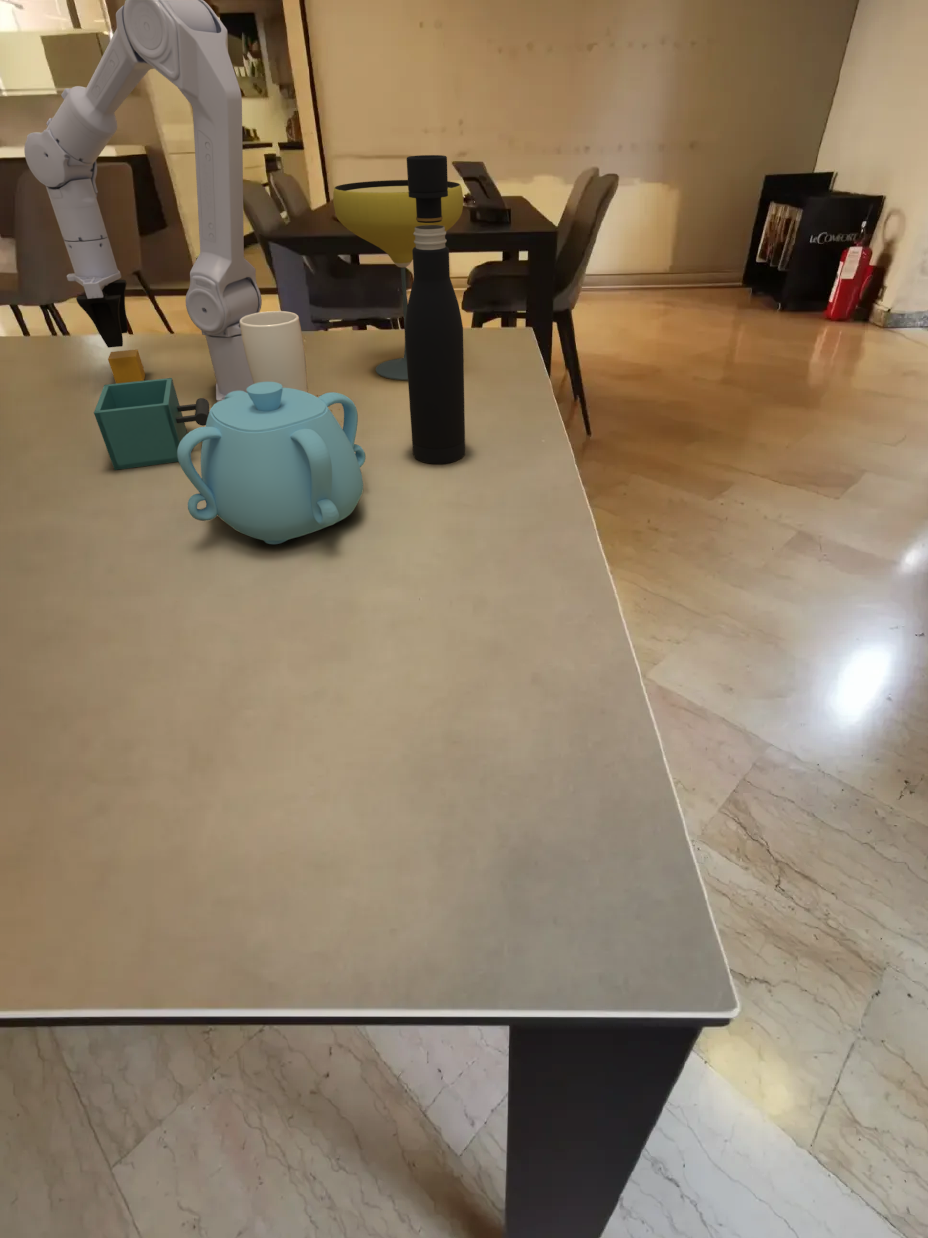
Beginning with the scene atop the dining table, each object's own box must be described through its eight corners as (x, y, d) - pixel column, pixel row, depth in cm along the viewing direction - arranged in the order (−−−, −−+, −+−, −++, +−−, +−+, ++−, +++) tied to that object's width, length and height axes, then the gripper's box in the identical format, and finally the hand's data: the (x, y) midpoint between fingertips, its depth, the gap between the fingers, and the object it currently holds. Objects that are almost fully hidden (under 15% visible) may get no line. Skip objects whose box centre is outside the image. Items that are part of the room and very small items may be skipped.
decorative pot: (178, 548, 65) (133, 412, 57) (252, 475, 78) (224, 355, 69) (334, 564, 62) (312, 424, 54) (386, 486, 75) (373, 362, 66)
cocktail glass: (339, 362, 111) (316, 184, 96) (438, 347, 117) (432, 177, 102) (374, 395, 98) (354, 195, 83) (484, 377, 104) (485, 187, 89)
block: (145, 374, 108) (137, 349, 105) (143, 382, 105) (135, 356, 102) (119, 377, 107) (110, 351, 104) (116, 385, 104) (107, 359, 101)
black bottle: (459, 466, 79) (452, 158, 60) (407, 462, 80) (384, 158, 61) (469, 444, 84) (466, 153, 65) (420, 441, 85) (403, 154, 66)
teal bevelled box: (216, 427, 90) (203, 374, 85) (217, 456, 82) (202, 400, 78) (122, 438, 87) (104, 384, 83) (114, 470, 80) (93, 412, 75)
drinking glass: (253, 448, 84) (225, 321, 75) (288, 429, 89) (266, 308, 79) (295, 458, 81) (272, 328, 72) (329, 438, 86) (311, 314, 77)
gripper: (63, 232, 98) (95, 329, 107) (45, 248, 87) (83, 355, 96) (114, 229, 100) (142, 325, 108) (103, 245, 89) (135, 350, 97)
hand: (118, 339), depth 102 cm, fingers open, 7 cm apart
